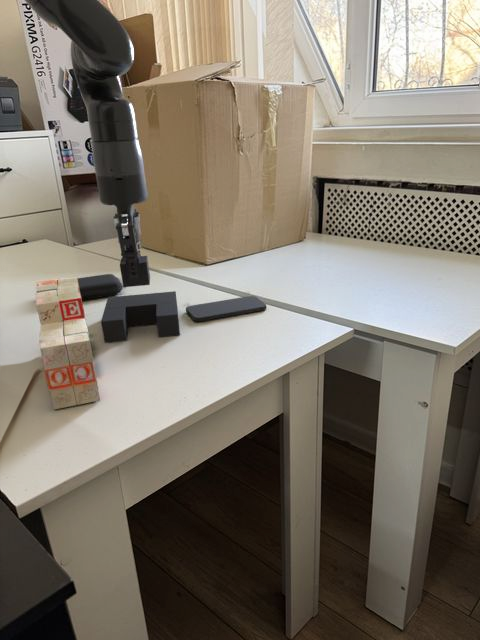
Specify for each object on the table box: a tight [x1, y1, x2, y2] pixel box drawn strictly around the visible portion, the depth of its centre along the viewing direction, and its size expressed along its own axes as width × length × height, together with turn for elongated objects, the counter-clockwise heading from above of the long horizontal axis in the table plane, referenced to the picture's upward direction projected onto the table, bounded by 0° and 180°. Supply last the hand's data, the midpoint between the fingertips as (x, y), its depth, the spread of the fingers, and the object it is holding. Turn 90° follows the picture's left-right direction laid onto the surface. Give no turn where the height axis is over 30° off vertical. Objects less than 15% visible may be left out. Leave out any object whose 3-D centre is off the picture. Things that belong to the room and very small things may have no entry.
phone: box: [185, 295, 267, 322], centre depth 100 cm, size 7×1×15 cm
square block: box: [119, 255, 151, 288], centre depth 87 cm, size 4×4×4 cm
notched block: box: [100, 290, 181, 343], centre depth 94 cm, size 13×13×4 cm
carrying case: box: [77, 273, 124, 301], centre depth 112 cm, size 11×3×15 cm
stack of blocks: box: [35, 276, 101, 410], centre depth 75 cm, size 21×6×12 cm, turn 21°
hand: (135, 275), depth 87 cm, fingers closed on square block, 4 cm apart
